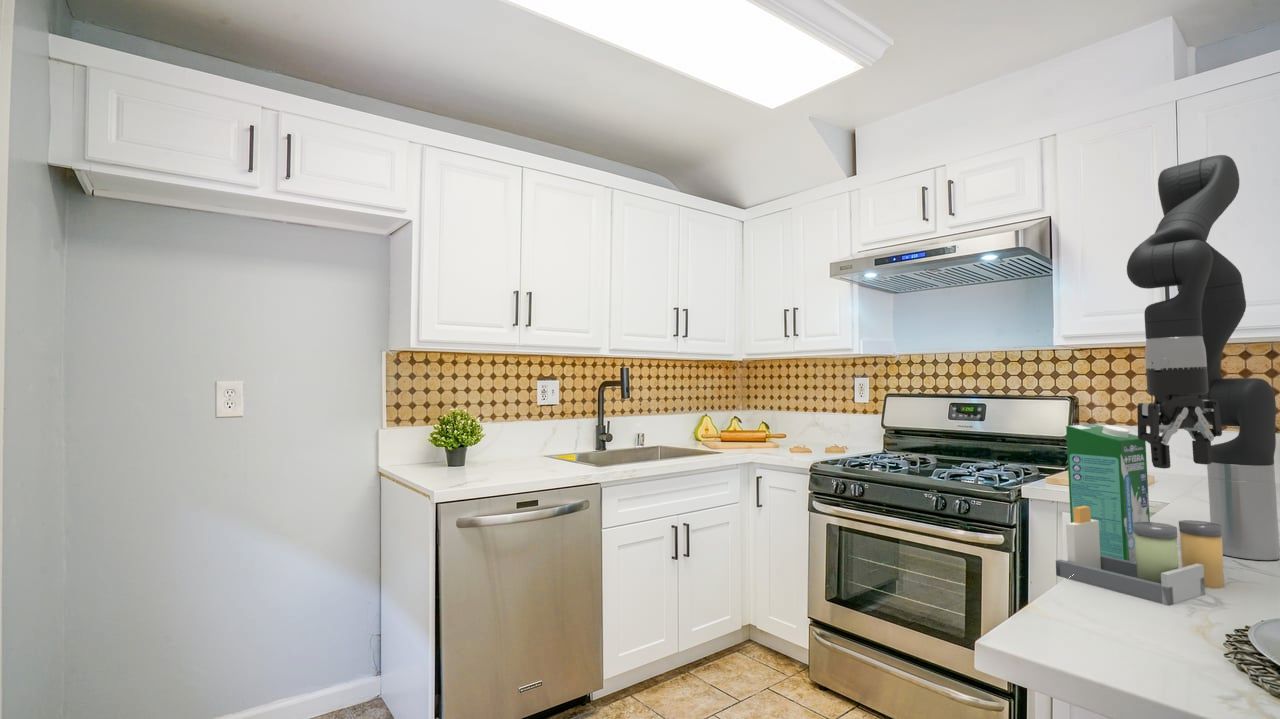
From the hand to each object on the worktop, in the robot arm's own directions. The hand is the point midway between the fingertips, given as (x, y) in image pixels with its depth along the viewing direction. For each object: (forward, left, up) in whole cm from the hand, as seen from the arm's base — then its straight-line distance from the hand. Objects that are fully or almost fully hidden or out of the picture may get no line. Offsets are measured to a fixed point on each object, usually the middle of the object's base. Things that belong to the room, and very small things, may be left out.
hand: (1182, 465), depth 100 cm
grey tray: (+9, -4, -20) cm, 22 cm away
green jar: (+9, 0, -19) cm, 21 cm away
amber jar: (-2, +1, -20) cm, 20 cm away
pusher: (+9, -11, -18) cm, 23 cm away
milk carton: (-7, -15, -20) cm, 26 cm away
